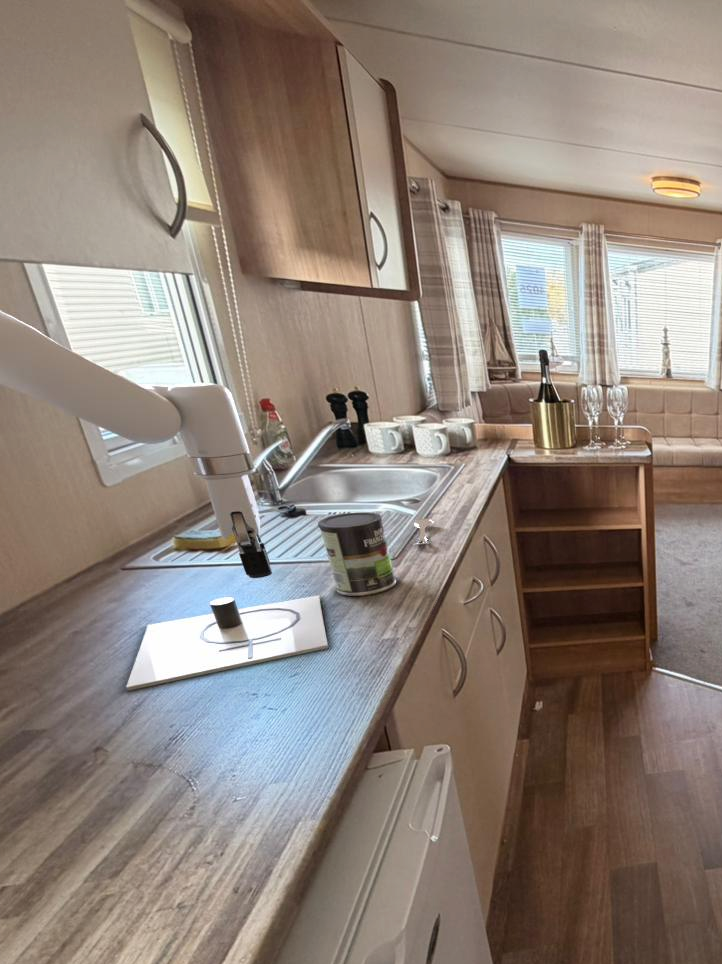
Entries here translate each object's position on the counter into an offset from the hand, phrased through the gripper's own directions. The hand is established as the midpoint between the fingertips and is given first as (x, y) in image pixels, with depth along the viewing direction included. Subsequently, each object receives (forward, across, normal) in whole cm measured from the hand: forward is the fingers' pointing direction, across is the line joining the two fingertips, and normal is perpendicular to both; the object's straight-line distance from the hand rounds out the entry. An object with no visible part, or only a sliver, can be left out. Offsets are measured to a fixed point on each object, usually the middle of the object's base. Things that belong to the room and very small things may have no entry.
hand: (258, 568), depth 110 cm
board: (+10, +5, -5) cm, 12 cm away
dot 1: (+9, 0, -6) cm, 11 cm away
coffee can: (+10, -9, +15) cm, 20 cm away
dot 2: (+1, 0, 0) cm, 1 cm away
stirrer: (+10, -35, +29) cm, 47 cm away
